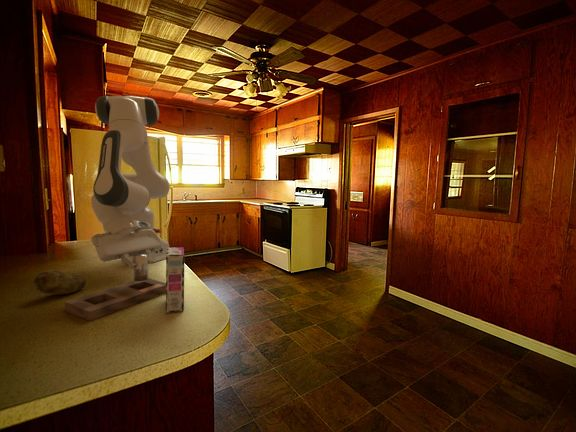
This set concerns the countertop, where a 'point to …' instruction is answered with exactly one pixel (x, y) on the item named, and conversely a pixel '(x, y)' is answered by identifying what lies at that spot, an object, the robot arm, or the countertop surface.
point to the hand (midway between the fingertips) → (142, 264)
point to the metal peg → (141, 267)
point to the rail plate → (114, 298)
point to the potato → (59, 282)
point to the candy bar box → (175, 279)
